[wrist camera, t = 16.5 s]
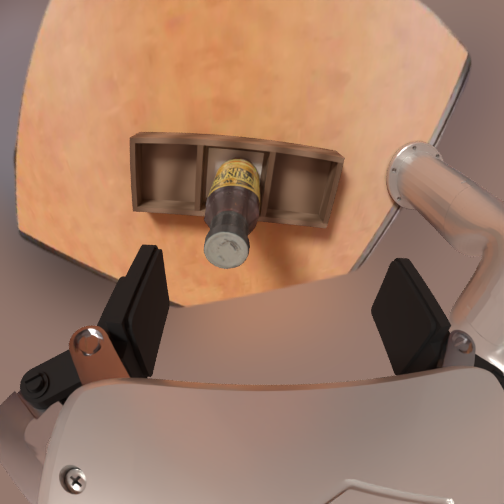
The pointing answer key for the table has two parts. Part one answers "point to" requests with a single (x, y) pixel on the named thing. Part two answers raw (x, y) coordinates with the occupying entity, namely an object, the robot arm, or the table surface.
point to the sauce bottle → (232, 213)
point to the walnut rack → (218, 152)
